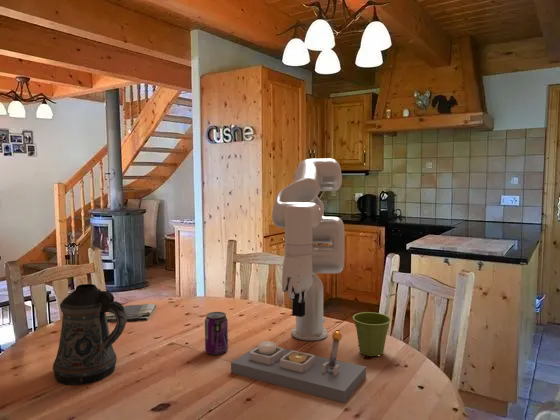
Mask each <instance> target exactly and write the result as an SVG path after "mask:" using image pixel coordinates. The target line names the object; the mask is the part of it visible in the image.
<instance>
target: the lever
mask: <svg viewBox="0 0 560 420" xmlns="http://www.w3.org/2000/svg"><path fill="white" fill-rule="evenodd" d="M331 337H332V338H331V339H333V340H332V345H331V352H330V358H329V359H330V363H329V368H330V369H331V370H333V368H334V367H335V363H336V360H337V358H338V351H339V343H340V340H341V339H342V333H341V332H340V331H338V330H335V331H334V332H333V333H332V334H331Z"/></svg>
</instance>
